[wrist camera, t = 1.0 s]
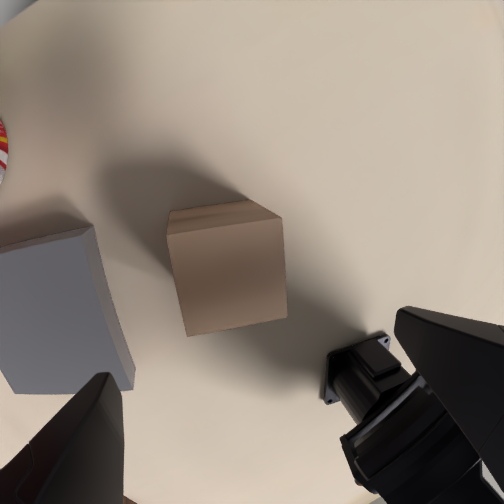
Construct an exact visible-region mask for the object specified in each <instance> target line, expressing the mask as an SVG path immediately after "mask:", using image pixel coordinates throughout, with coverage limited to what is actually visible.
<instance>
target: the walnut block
mask: <svg viewBox="0 0 504 504" xmlns="http://www.w3.org/2000/svg"><path fill="white" fill-rule="evenodd" d="M166 238H167V243H168V249H169V254H170V260H171V265H172V270H173V275H174V280H175V285H176V290H177V294H178V299H179V304H180V308H181V313H182V317H183V321H184V326H185V330H186V334H187V337H189V336H194V335H200V334H206V333H212V332H217V331H222V330H228V329H233V328H238V327H243V326H248V325H253V324H258V323H263V322H267V321H272V320H277V319H281V318H285V317H288V316H287V295H286V275H285V258H284V242H283V227H282V218H281V217H280V216H278V215H276V214H275V213H273V212H271V211H269V210H268V209H266V208H264V207H262V206H261V205H259V204H257V203H255V202H254V201H252V200H245V201H237V202H230V203H223V204H216V205H209V206H202V207H196V208H189V209H183V210H176V211H170V216H169V221H168V227H167V233H166Z"/></svg>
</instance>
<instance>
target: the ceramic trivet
mask: <svg viewBox="0 0 504 504" xmlns="http://www.w3.org/2000/svg"><path fill="white" fill-rule="evenodd" d="M0 370H1V371H2V373H3V375H4V377H5V378H6V380H7V382H8V384H9V385H10V387H11V388H12V390H13V392H14V393H15V394H76V393H77V392H78V391H79V390H80V389H81V388H82V387H83V386H84V385H85V384H86V383H87V382H88V381H89V380H90V379H91V378H92V377H93V376H94V375H95V374H96V373H99V372H110V373H111V374H112V375H113V377H114V379H115V381H116V384H117V386H118V388H119V390H120V391H129V390H133V387H134V378H135V370H136V368H135V365H134V362H133V360H132V357H131V355H130V352H129V349H128V346H127V344H126V341H125V338H124V335H123V332H122V329H121V326H120V323H119V320H118V317H117V314H116V311H115V308H114V304H113V301H112V298H111V294H110V291H109V287H108V284H107V280H106V276H105V273H104V269H103V265H102V261H101V257H100V253H99V249H98V244H97V240H96V235H95V231H94V226H89V227H85V228H80V229H75V230H70V231H66V232H61V233H57V234H52V235H48V236H43V237H39V238H35V239H31V240H26V241H22V242H18V243H14V244H10V245H6V246H2V247H0Z"/></svg>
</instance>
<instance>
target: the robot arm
mask: <svg viewBox="0 0 504 504" xmlns="http://www.w3.org/2000/svg"><path fill="white" fill-rule="evenodd" d="M394 334H395V337H396V338H397V340H398V341H399V343H400V345H401V346H402V348H403V349H404V351H405V352H406V354H407V356H408V357H409V359H410V360H411V362H412V364H413V365H414V367H415V368H416V371H415V372H414V373H413V374H412V375H410V374H409V373H408V372H407V371H406V370H405V369H404V368H403V367H402V366H401V362H400V361H399V360H398V359H397V358H396V357H395V356H393V355H392V354H391V353H390V352H389V351H388V350H389V345H390V336H389V335H387V334H384V335H381V336H379V337H376V338H373V339H370V340H367V341H364V342H361V343H358V344H355V345H352V346H349V347H346V348H343V349H340V350H336V351H333V352H331V353H329V354H328V356H327V364H326V378H325V391H324V402H325V404H326V405H329V404H332V403H335V402H338V401H341V402H342V404H343V405H344V407H345V408H346V410H347V411H348V413H349V414H350V415H351V417H352V418H353V420H354V421H355V423H356V424H357V426H356V427H354V428H353V429H352V430H351V431H349V432H348V433H347V434H344V435H343V436H341V437H340V441H341V444H342V449H343V451H344V454H345V456H346V459H347V461H348V464H349V467H350V469H351V472H352V474H353V477H354V479H355V483H356V484H357V485H358V486H363V487H364V488H366V489H367V490H368V491H369V492H371V493H373V494H378V493H379V495H380V496H381V497H382V498H383V499H384V500H385V501H386V503H387V504H504V499H503V498H502V497H501V496H500V495H499V493H498V492H497V491H496V490H495V489H494V488H493V487H492V486H491V485H490V484H489V482H488V481H487V480H486V479H485V478H484V477H483V476H482V461H483V462H484V464H485V465H486V467H487V468H488V470H489V471H490V473H491V474H492V476H493V477H494V479H495V481H496V482H497V483H498V485H499V487H500V488H501V490H502V491H503V492H504V326H502V325H498V326H497V325H496V324H492V323H487V322H482V321H477V320H472V319H468V318H463V317H458V316H453V315H449V314H444V313H439V312H435V311H430V310H426V309H421V308H416V307H412V306H406V307H403V308H400V309H399V310H398V311H397V313H396V320H395V326H394ZM333 357H334V358H333ZM123 475H124V427H123V407H122V395H121V392H120V390H119V388H118V386H117V384H116V381H115V379H114V377H113V375H112V374H111V373H110V372H99V373H96V374H95V375H94V376H93V377H92V378H91V379H90V380H89V381H88V382H87V383H86V384H85V385H84V386H83V387H82V388H81V389H80V390H79V391H78V392H77V393H76V394H75V395H74V396H73V397H72V398H71V399H70V400H69V401H68V402H67V403H66V404H65V405H64V406H63V407H62V408H61V409H60V411H59V412H58V413H57V414H56V415H55V416H54V417H53V418H52V419H51V420H50V421H49V422H48V423H47V424H46V425H45V426H44V427H43V428H42V429H41V430H40V431H39V432H38V433H37V434H36V435H35V436H34V437H33V438H32V439H31V440H30V441H29V444H26V446H25V447H24V448H23V449H22V450H21V451H20V452H19V453H18V454H17V455H16V456H15V457H14V458H13V459H12V460H11V461H10V462H9V463H8V464H7V465H5V466H4V467H3V468H2V469H1V470H0V504H124V500H123Z"/></svg>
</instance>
